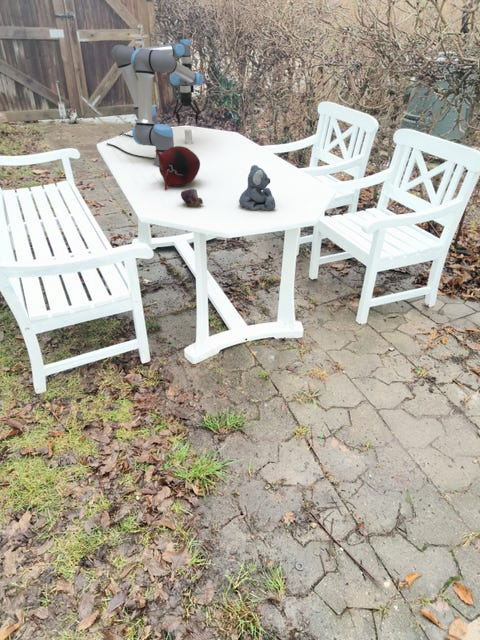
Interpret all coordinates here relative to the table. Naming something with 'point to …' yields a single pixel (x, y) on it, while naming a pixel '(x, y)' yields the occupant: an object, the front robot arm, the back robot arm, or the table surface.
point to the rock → (191, 197)
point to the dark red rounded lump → (178, 166)
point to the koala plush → (257, 191)
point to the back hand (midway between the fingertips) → (188, 93)
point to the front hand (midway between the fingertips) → (187, 123)
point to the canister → (188, 136)
